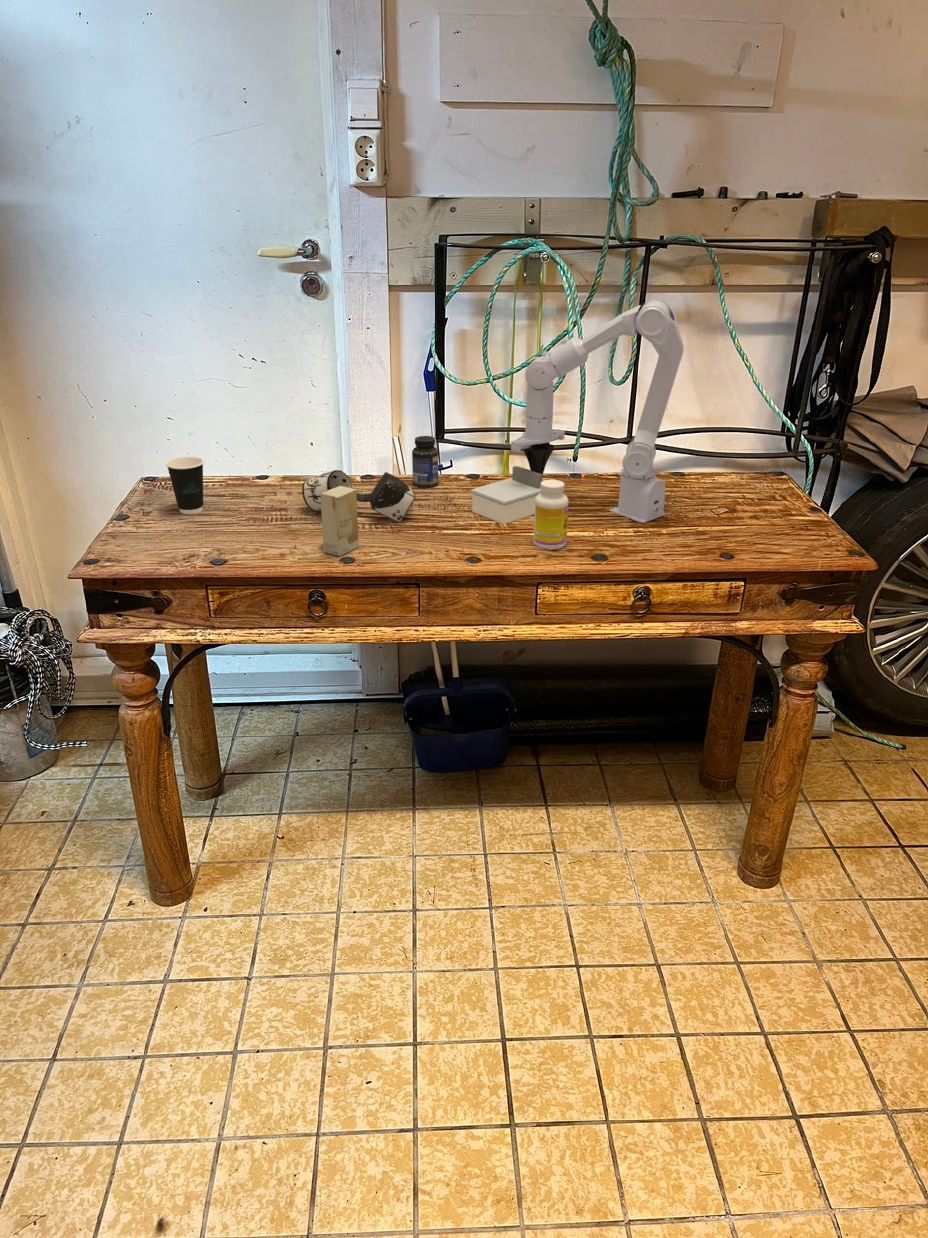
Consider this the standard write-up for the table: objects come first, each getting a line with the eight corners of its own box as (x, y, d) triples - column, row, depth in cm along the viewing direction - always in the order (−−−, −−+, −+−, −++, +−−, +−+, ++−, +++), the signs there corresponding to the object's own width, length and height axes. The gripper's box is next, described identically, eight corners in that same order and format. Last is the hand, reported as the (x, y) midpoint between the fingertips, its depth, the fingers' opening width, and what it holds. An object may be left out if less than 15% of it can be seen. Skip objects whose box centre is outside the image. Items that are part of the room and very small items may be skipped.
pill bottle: (437, 488, 220) (437, 442, 215) (411, 488, 220) (410, 442, 215) (439, 479, 226) (438, 434, 221) (413, 479, 226) (412, 434, 221)
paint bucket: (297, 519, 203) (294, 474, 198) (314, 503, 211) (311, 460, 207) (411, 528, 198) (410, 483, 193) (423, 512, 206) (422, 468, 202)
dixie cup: (189, 501, 212) (183, 454, 207) (217, 507, 208) (211, 459, 203) (164, 513, 205) (157, 464, 200) (193, 519, 202) (186, 469, 197)
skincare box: (340, 557, 184) (336, 497, 178) (322, 552, 186) (318, 493, 180) (360, 546, 189) (357, 488, 183) (343, 542, 191) (339, 484, 185)
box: (511, 501, 213) (512, 481, 210) (543, 513, 206) (544, 492, 204) (472, 513, 205) (472, 493, 203) (503, 526, 199) (504, 505, 197)
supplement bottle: (567, 551, 187) (571, 489, 181) (534, 550, 187) (536, 488, 181) (564, 538, 193) (568, 478, 187) (532, 538, 193) (534, 477, 187)
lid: (512, 479, 211) (512, 464, 209) (545, 491, 204) (546, 475, 202) (470, 492, 203) (471, 476, 202) (504, 504, 196) (504, 488, 195)
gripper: (549, 406, 209) (546, 465, 215) (501, 417, 200) (500, 479, 206) (573, 412, 204) (569, 473, 210) (525, 424, 195) (523, 487, 202)
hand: (536, 476), depth 208 cm, fingers closed
